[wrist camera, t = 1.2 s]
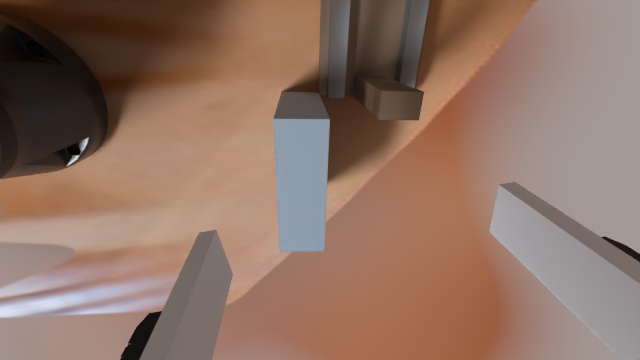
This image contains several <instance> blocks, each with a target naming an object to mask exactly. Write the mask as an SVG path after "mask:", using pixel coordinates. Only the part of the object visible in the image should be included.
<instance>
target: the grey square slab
mask: <svg viewBox="0 0 640 360" xmlns="http://www.w3.org/2000/svg"><path fill="white" fill-rule="evenodd" d="M273 120H274V141H275V163H276V185H277V206H278V228H279V250H280V252H295V251H296V252H297V251H324V242H325V219H326V197H327V174H328V152H329V129H330V118H329V116H328V114H327V111H326V109H325V106H324V104H323V102H322V99H321V97H320V95H319V92H282V93H281V96H280V99H279V103H278V106H277V109H276V112H275V115H274V119H273Z"/></svg>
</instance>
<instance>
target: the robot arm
mask: <svg viewBox="0 0 640 360" xmlns="http://www.w3.org/2000/svg"><path fill="white" fill-rule="evenodd" d="M106 128H107V109H106V104H105V101H104V97H103V94H102V92H101V89H100V87H99V85H98V83H97V81H96V80H95V78H94V76H93V75H92V73H91V72H90V70H89V69H88V67H87V66H86V65H85V63H84V62H83V61H82V60H81V59H80V58H79V57H78V55H77V54H76V53H75V52H74V51H73V50H72V49H71V48H69V47H68V46H67V45H66V44H65V43H64V42H62V41H61V40H60V39H59V38H57V37H56V36H54V35H53V34H51V33H50V32H48V31H47V30H45V29H43V28H41V27H40V26H38V25H36V24H34V23H32V22H29V21H27V20H25V19H22V18H19V17H16V16H12V15H9V14H4V13H0V179H5V178H13V177H20V176H27V175H34V174H41V173H49V172H54V171H58V170H62V169H65V168H68V167H70V166H72V165H74V164H76V163H78V162H79V161H81V160H83V159H85V158H87V157H88V156H90V155H91V154H92V153H93V152H94V151H95V150H96V149H97V148H98V147H99V146H100V144H101V142H102V140H103V138H104V136H105V132H106ZM490 233H491V234H492V235H493V236H495V238H497V239H498V240H499V241H500V242H501V243H502V244H503V245H504V246H505V247H506V248H507V249H508V250H509V251H510V252H511V253H512V254H513V255H514V256H515V257H516V258H517V259H518V260H519V261H520V262H521V263H522V264H523V265H524V266H525V267H526V268H527V269H528V270H529V271H530V272H531V273H532V274H533V275H534V276H535V277H537V278H538V279H539V280H540V281H541V282H542V283H543V284H544V285H545V286H546V287H547V288H548V289H549V290H550V291H551V292H552V293H553V294H554V295H555V296H556V297H557V298H558V299H559V300H560V301H561V302H562V303H563V304H564V305H565V306H566V307H567V308H568V309H569V310H570V311H571V312H572V313H573V314H574V315H576V316H577V317H578V318H579V319H580V320H581V321H582V322H583V323H584V324H585V325H586V326H587V327H588V328H589V329H590V330H591V331H592V332H593V333H594V334H595V335H596V336H597V337H598V338H599V339H600V340H601V341H602V342H603V343H604V344H605V345H606V346H607V347H609V349H610V350H612V351H613V352H614V353H615V354H616V355H617V356H618V357H619V358H620V359H621V360H640V254H639V253H637V252H636V251H634V250H633V249H631V248H629V247H628V246H626V245H624V244H622V243H619V242H617V241H614V240H612V239H609V238H607V237H600V236H598V235H597V234H595V233H593V232H592V231H590V230H589V229H587V228H586V227H584V226H583V225H581V224H579V223H578V222H576V221H575V220H573V219H572V218H570V217H568V216H567V215H565V214H564V213H562V212H561V211H559V210H558V209H556V208H554V207H553V206H551V205H550V204H548V203H547V202H545V201H544V200H542V199H540V198H539V197H537V196H536V195H534V194H533V193H531V192H530V191H528V190H526V189H525V188H523V187H522V186H520V185H519V184H517V183H516V182H512V183H506V184H500V185H499V186H498V191H497V196H496V202H495V207H494V212H493V217H492V222H491V227H490ZM232 275H233V273H232V271H231V268H230V265H229V263H228V260H227V257H226V255H225V252H224V249H223V247H222V244H221V241H220V239H219V236H218V233H217V231H216V230H213V231H206V232H200V233H199V234H198V236H197V239H196V241H195V243H194V245H193V247H192V249H191V251H190V253H189V255H188V258H187V260H186V262H185V264H184V266H183V268H182V270H181V272H180V275H179V277H178V279H177V281H176V283H175V285H174V287H173V289H172V292H171V294H170V296H169V298H168V300H167V302H166V304H165V306H164V309H163V311H160V312H154V313H149V314H148V315H147V316H146V318H145V319H144V320H143V321H142V322H141V323H140V324H139V325H138V326H137V328H136V329H135V331H134V333H133V335H132V337H131V338H130V340H129V342H128V346H127V347H126V348H125V350H124V352H123V353H122V355H121V360H212V356H213V352H214V348H215V344H216V340H217V336H218V332H219V328H220V324H221V320H222V315H223V312H224V308H225V304H226V300H227V296H228V291H229V287H230V283H231V279H232Z"/></svg>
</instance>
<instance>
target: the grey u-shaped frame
mask: <svg viewBox="0 0 640 360" xmlns="http://www.w3.org/2000/svg"><path fill="white" fill-rule="evenodd" d="M429 5H430V0H321V15H320V55H319V94H320V95H324V96H327V97H328V98H344V96H354V97H355V98H356V99H357V100H358V101H359V102H360V103H361V104H362V105H363V106H364V107H365V108H366V109H368V110H369V111H370V112H371V113H372V114H373V115H374V116H375V117H376V118H377V119H378V120H419V116H420V111H421V105H422V100H423V95H424V92H423V91H420V90H418V89H415V86H416V81H417V75H418V69H419V63H420V58H421V52H422V46H423V40H424V34H425V29H426V23H427V17H428V11H429Z"/></svg>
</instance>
